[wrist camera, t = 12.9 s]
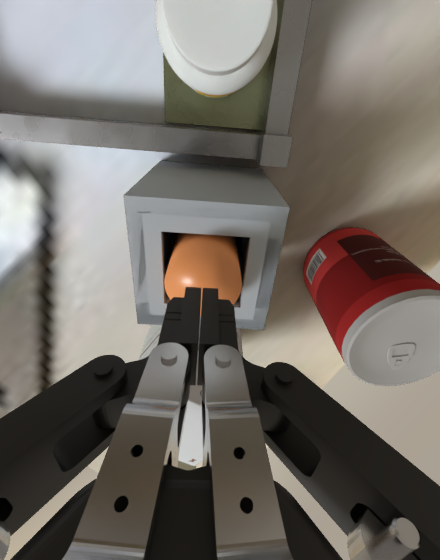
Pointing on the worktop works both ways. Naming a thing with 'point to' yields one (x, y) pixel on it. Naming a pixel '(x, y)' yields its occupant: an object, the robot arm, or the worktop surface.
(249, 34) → the supplement bottle
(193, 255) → the brown egg
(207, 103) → the grey rectangular tray
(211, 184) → the cabinet
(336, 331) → the canned food
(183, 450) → the supplement box
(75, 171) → the worktop surface
